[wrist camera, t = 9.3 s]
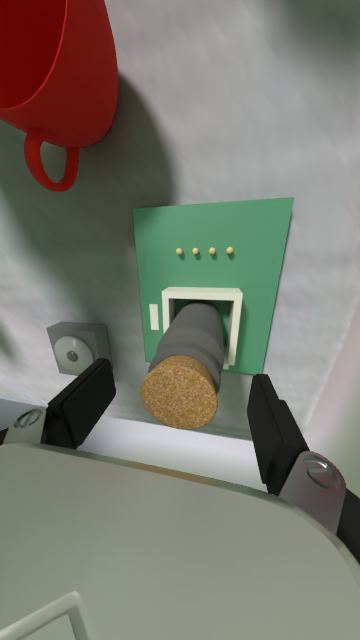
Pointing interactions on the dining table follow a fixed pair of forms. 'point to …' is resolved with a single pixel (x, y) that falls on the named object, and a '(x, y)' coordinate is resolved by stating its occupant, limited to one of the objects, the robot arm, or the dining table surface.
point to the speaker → (78, 345)
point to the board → (213, 270)
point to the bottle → (186, 368)
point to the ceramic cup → (57, 77)
